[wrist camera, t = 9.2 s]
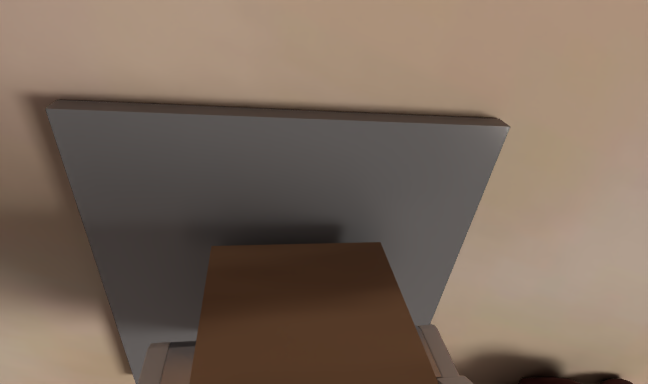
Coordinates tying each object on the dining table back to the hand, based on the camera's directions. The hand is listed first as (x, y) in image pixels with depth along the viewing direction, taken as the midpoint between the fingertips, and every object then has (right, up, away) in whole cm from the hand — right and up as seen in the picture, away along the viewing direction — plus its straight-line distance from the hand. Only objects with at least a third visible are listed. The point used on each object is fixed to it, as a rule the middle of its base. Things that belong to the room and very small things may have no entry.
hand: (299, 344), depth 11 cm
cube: (0, +1, +1) cm, 2 cm away
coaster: (0, +2, +3) cm, 3 cm away
